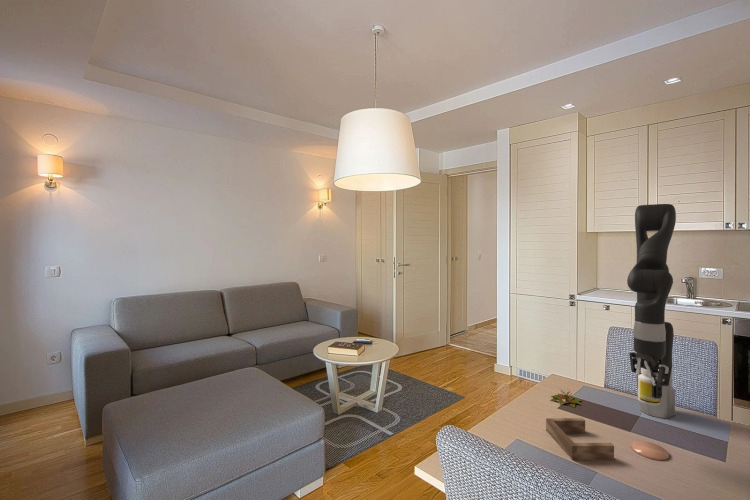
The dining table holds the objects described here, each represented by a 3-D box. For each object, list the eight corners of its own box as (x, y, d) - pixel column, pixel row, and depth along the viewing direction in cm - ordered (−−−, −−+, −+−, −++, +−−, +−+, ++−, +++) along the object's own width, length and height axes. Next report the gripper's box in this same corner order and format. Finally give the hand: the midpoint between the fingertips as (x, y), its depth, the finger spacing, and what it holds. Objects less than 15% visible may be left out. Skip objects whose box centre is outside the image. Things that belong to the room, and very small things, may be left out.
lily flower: (577, 412, 133) (577, 399, 133) (544, 401, 142) (544, 390, 142) (588, 401, 141) (588, 390, 141) (555, 392, 150) (555, 381, 150)
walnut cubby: (582, 430, 120) (582, 418, 119) (614, 459, 104) (614, 445, 103) (546, 430, 120) (546, 418, 120) (571, 459, 104) (571, 445, 104)
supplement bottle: (664, 406, 104) (664, 373, 104) (643, 405, 105) (643, 371, 105) (654, 398, 109) (654, 366, 109) (634, 397, 110) (634, 365, 110)
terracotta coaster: (653, 442, 112) (653, 440, 112) (677, 460, 103) (677, 458, 103) (623, 442, 112) (623, 440, 112) (645, 460, 103) (645, 458, 103)
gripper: (682, 343, 99) (681, 404, 100) (644, 330, 114) (644, 383, 114) (654, 344, 100) (654, 404, 100) (620, 330, 114) (620, 383, 114)
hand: (648, 393), depth 107 cm, fingers closed on supplement bottle, 5 cm apart
